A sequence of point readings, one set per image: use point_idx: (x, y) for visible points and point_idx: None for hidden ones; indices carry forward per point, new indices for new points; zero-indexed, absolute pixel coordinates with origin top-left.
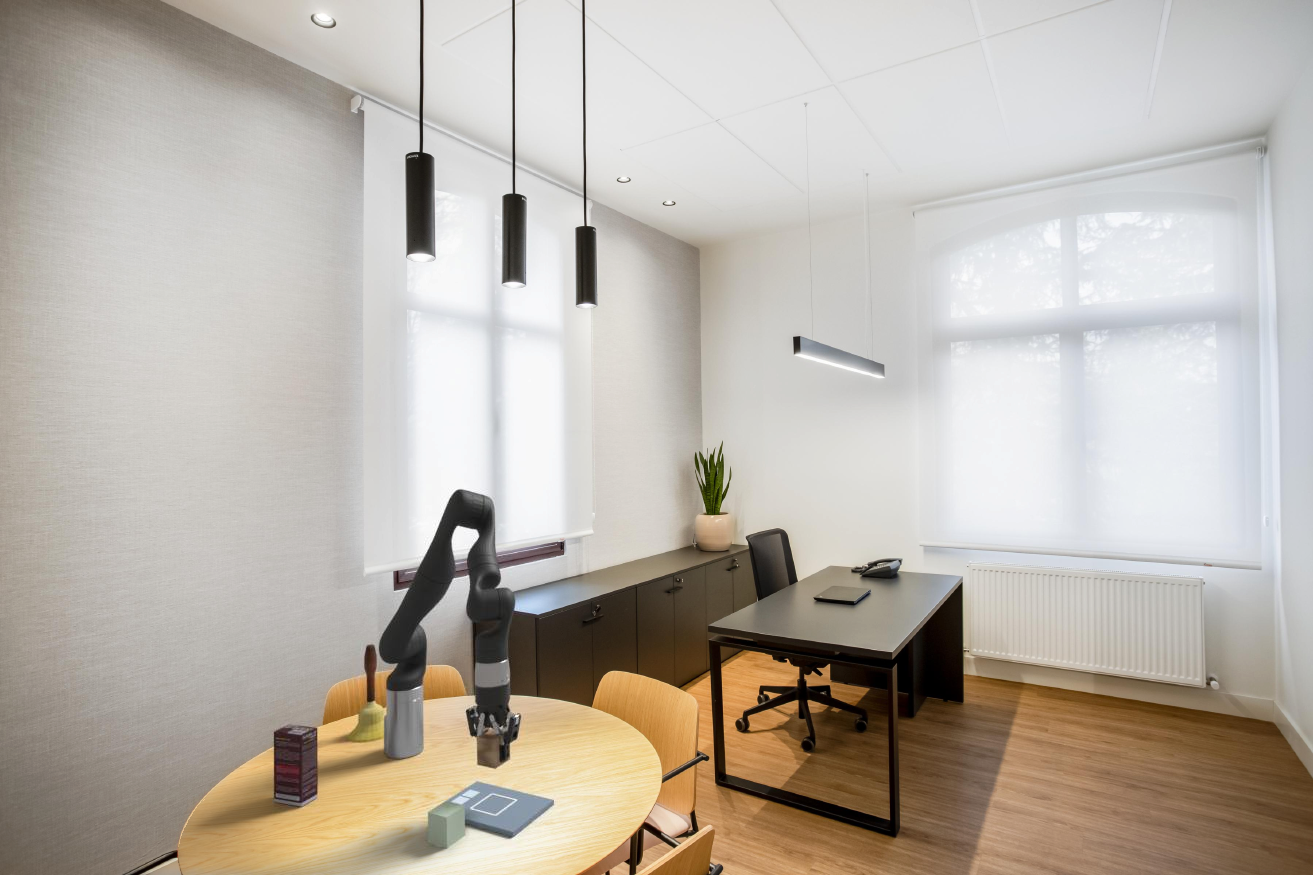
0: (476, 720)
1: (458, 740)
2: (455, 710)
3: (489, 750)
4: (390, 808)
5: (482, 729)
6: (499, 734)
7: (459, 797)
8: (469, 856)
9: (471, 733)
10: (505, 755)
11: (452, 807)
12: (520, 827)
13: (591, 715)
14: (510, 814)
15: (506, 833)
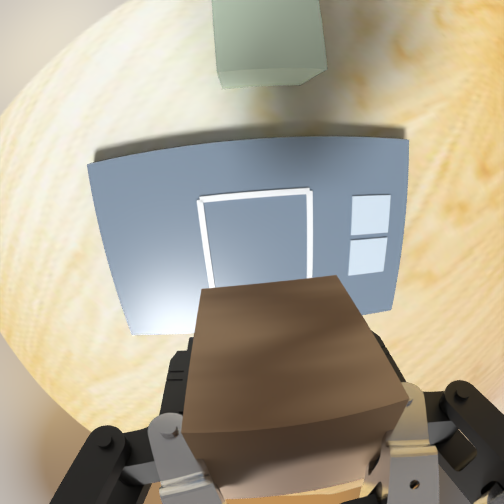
0: (472, 475)
1: (483, 374)
2: (500, 403)
3: (246, 352)
4: (489, 128)
5: (386, 471)
6: (172, 482)
7: (383, 225)
8: (128, 34)
9: (466, 393)
10: (169, 369)
11: (254, 39)
12: (94, 196)
13: (320, 490)
14: (165, 228)
15: (112, 158)
